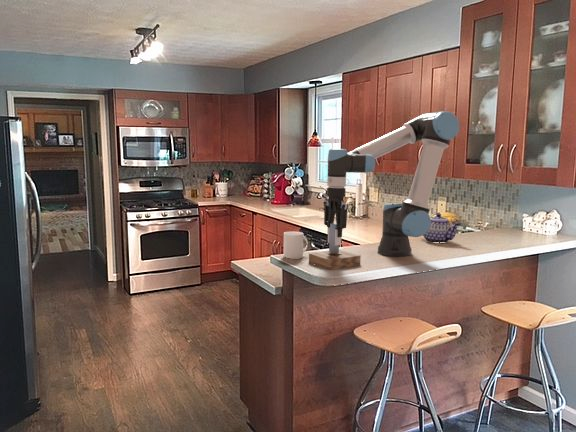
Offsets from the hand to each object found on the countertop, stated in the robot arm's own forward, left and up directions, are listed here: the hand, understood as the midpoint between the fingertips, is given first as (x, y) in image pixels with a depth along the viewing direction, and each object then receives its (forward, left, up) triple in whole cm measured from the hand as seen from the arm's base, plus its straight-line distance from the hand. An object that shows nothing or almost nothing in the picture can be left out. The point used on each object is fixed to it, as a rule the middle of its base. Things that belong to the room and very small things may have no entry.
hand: (334, 243), depth 202 cm
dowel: (0, 0, -4) cm, 4 cm away
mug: (+6, -19, -9) cm, 22 cm away
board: (0, 0, -9) cm, 9 cm away
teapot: (-76, -10, -9) cm, 77 cm away
